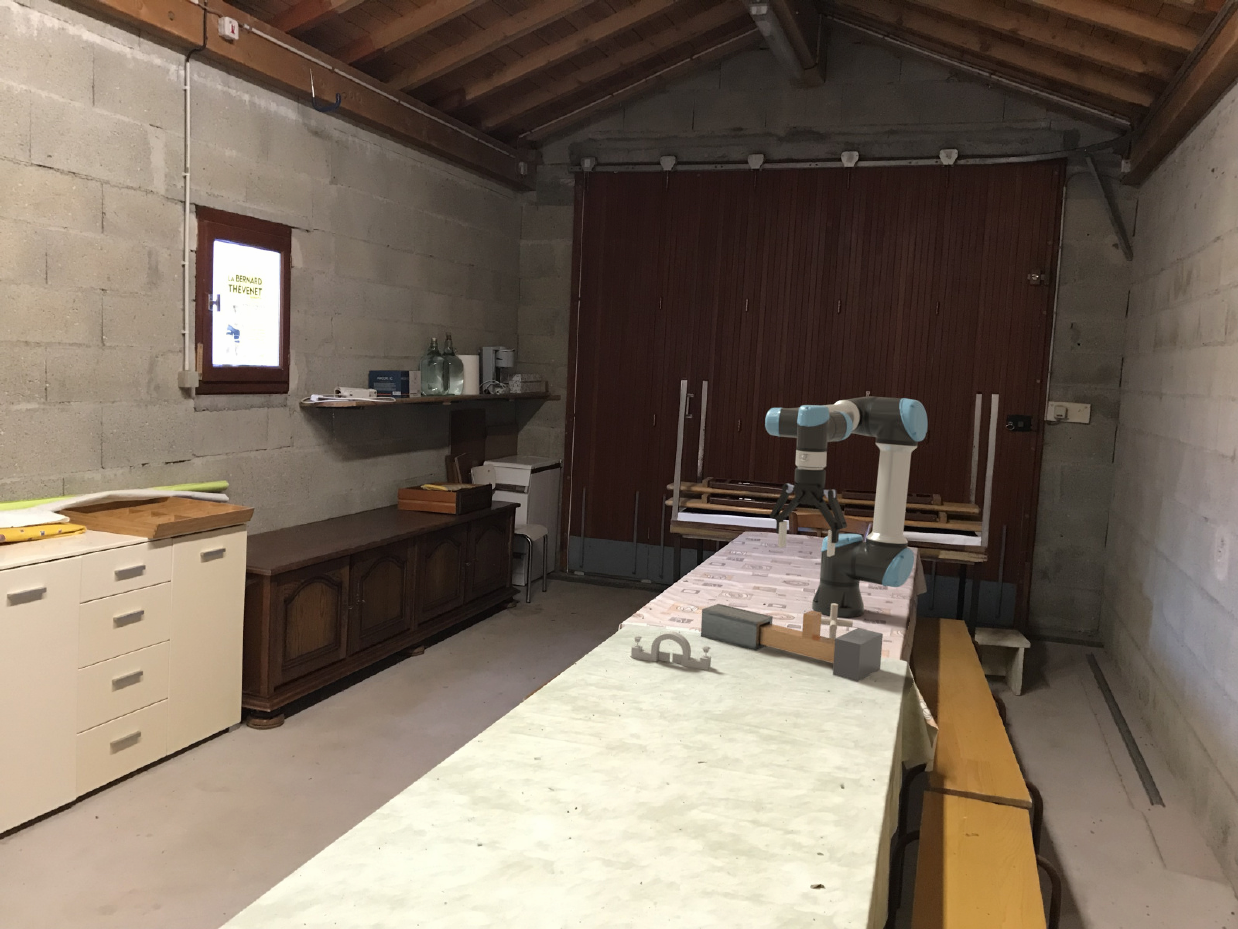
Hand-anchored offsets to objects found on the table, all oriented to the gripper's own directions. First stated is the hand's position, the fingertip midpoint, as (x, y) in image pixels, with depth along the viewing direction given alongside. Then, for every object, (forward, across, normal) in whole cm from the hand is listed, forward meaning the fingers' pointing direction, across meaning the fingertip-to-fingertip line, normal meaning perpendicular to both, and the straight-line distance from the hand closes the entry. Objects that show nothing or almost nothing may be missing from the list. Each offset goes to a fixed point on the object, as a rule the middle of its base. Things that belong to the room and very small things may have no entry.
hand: (805, 551), depth 240 cm
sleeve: (+27, -18, -2) cm, 33 cm away
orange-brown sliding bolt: (+25, +1, -2) cm, 25 cm away
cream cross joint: (+27, 0, +17) cm, 32 cm away
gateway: (+27, -20, -28) cm, 44 cm away
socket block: (+27, +16, -2) cm, 32 cm away
